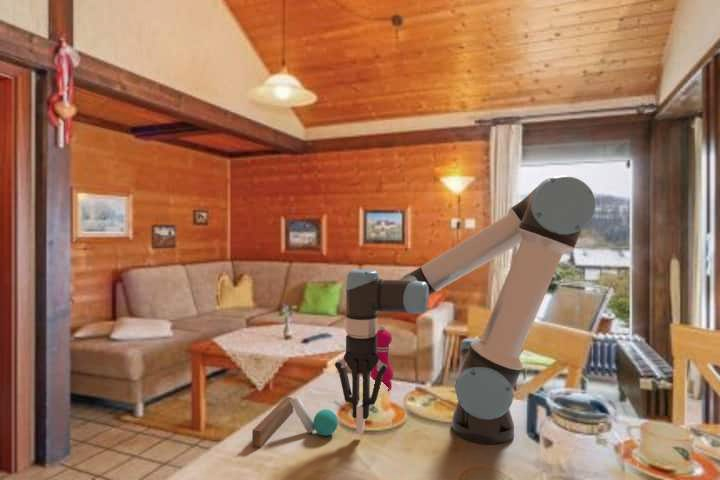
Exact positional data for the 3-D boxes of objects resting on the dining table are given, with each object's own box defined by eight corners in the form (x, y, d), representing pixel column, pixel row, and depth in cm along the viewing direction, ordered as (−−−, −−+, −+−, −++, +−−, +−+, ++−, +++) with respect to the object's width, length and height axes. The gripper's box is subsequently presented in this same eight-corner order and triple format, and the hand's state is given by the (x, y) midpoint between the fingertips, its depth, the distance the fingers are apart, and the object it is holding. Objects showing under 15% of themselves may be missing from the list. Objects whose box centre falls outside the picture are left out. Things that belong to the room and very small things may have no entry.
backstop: (293, 412, 120) (293, 397, 120) (260, 448, 101) (260, 431, 101) (286, 411, 121) (286, 397, 121) (252, 447, 101) (252, 430, 101)
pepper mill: (391, 392, 135) (392, 328, 134) (368, 390, 136) (369, 327, 135) (394, 384, 142) (395, 323, 141) (372, 382, 143) (373, 322, 143)
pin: (317, 425, 109) (299, 394, 110) (314, 430, 107) (295, 398, 108) (309, 429, 110) (291, 398, 111) (306, 434, 108) (288, 402, 108)
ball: (313, 411, 111) (325, 432, 111) (305, 422, 106) (318, 444, 105) (332, 401, 110) (345, 422, 110) (325, 411, 104) (338, 433, 104)
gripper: (390, 332, 107) (389, 426, 108) (339, 328, 110) (339, 420, 111) (385, 340, 100) (384, 441, 100) (331, 336, 103) (330, 434, 103)
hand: (360, 430), depth 106 cm, fingers closed
